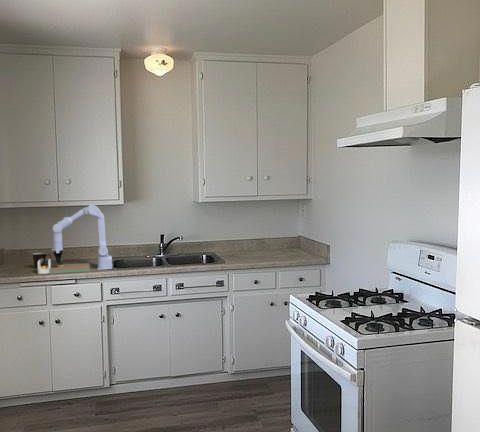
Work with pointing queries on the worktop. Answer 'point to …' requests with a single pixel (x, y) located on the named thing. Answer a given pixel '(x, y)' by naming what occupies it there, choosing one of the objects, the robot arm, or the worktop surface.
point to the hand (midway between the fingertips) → (58, 262)
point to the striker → (61, 263)
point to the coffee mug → (39, 257)
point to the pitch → (63, 268)
